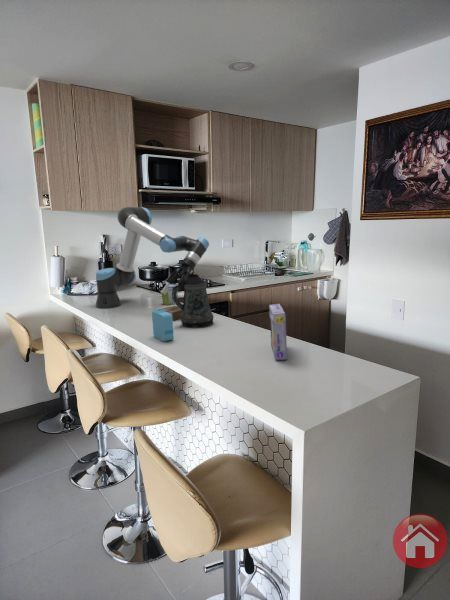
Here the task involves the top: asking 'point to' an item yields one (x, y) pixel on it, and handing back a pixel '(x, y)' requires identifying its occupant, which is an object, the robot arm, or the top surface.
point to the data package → (162, 325)
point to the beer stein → (193, 302)
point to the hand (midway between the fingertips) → (168, 294)
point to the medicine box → (171, 292)
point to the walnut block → (174, 312)
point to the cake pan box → (278, 331)
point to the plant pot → (166, 299)
